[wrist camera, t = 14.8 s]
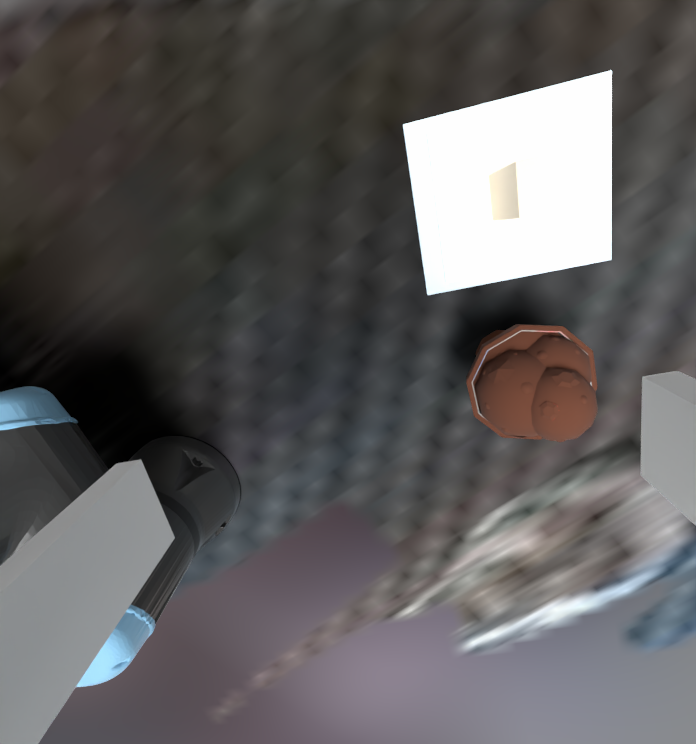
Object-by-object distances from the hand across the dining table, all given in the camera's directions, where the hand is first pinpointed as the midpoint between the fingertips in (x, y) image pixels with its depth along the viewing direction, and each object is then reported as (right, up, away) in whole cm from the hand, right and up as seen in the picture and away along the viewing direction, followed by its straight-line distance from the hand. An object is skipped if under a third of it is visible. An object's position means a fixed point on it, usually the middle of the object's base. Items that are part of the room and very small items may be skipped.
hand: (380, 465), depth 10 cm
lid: (+15, +19, +27) cm, 36 cm away
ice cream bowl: (+16, +5, +33) cm, 37 cm away
